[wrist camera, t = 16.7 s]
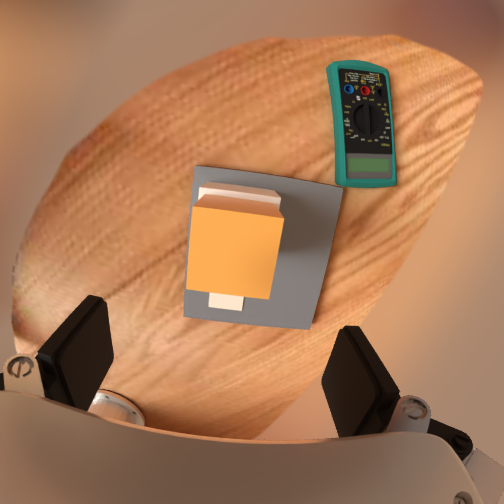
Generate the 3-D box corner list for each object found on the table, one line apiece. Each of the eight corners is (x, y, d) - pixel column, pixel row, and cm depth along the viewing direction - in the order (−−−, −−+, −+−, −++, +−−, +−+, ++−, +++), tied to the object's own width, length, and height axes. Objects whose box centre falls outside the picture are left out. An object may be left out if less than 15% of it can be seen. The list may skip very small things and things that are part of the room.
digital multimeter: (379, 69, 26) (390, 63, 23) (388, 185, 31) (399, 188, 28) (323, 63, 26) (330, 55, 23) (333, 186, 31) (341, 189, 28)
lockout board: (307, 323, 36) (319, 356, 30) (185, 310, 35) (174, 343, 29) (339, 186, 31) (363, 195, 24) (197, 165, 29) (184, 168, 23)
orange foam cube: (263, 268, 26) (268, 299, 20) (197, 259, 26) (186, 289, 20) (274, 203, 24) (284, 218, 18) (204, 193, 24) (192, 206, 18)
